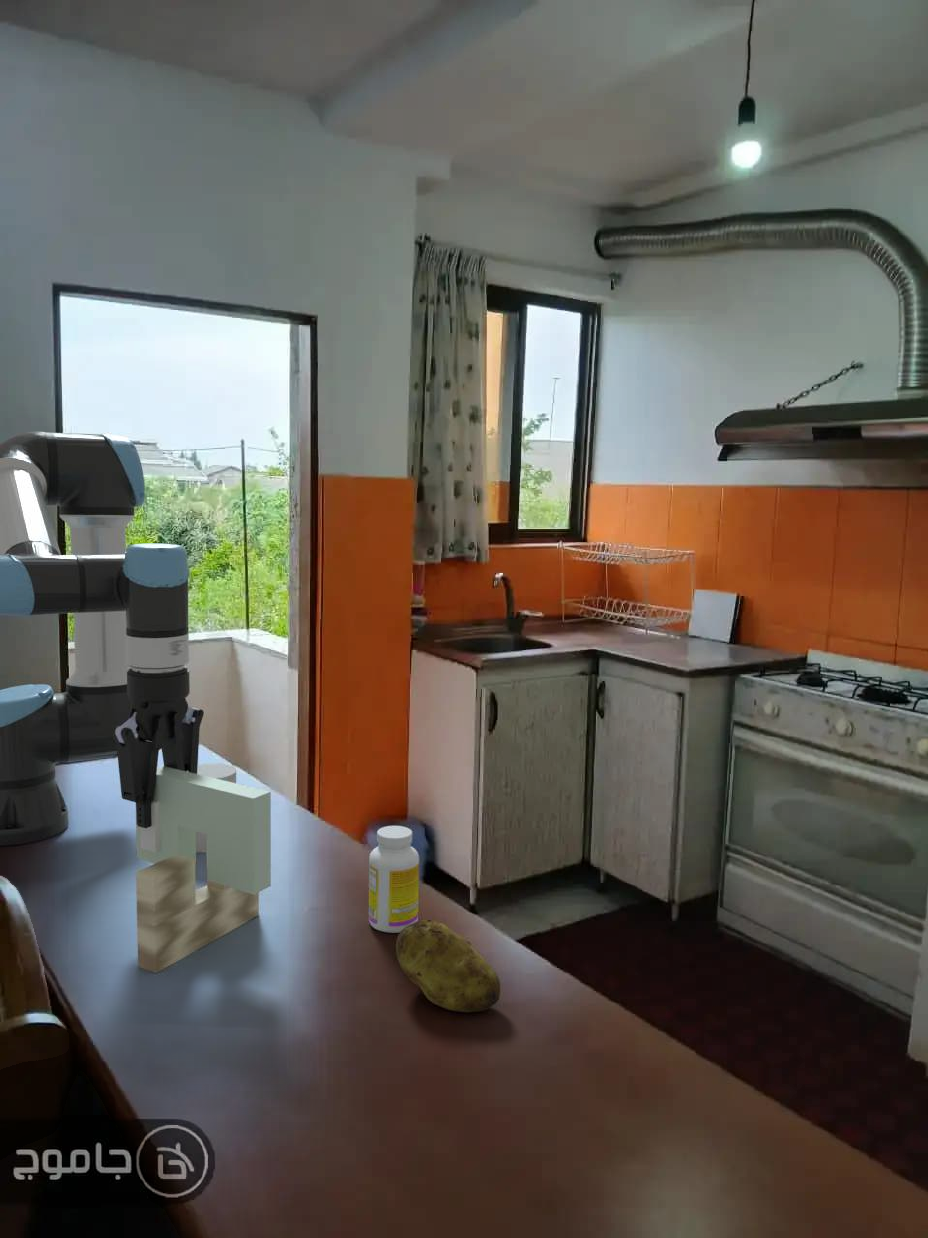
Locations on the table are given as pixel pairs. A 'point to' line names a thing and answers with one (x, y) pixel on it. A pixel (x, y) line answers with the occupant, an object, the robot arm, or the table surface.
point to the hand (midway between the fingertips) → (161, 844)
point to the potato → (446, 967)
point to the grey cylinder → (215, 772)
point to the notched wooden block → (183, 912)
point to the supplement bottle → (393, 880)
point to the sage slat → (214, 827)
